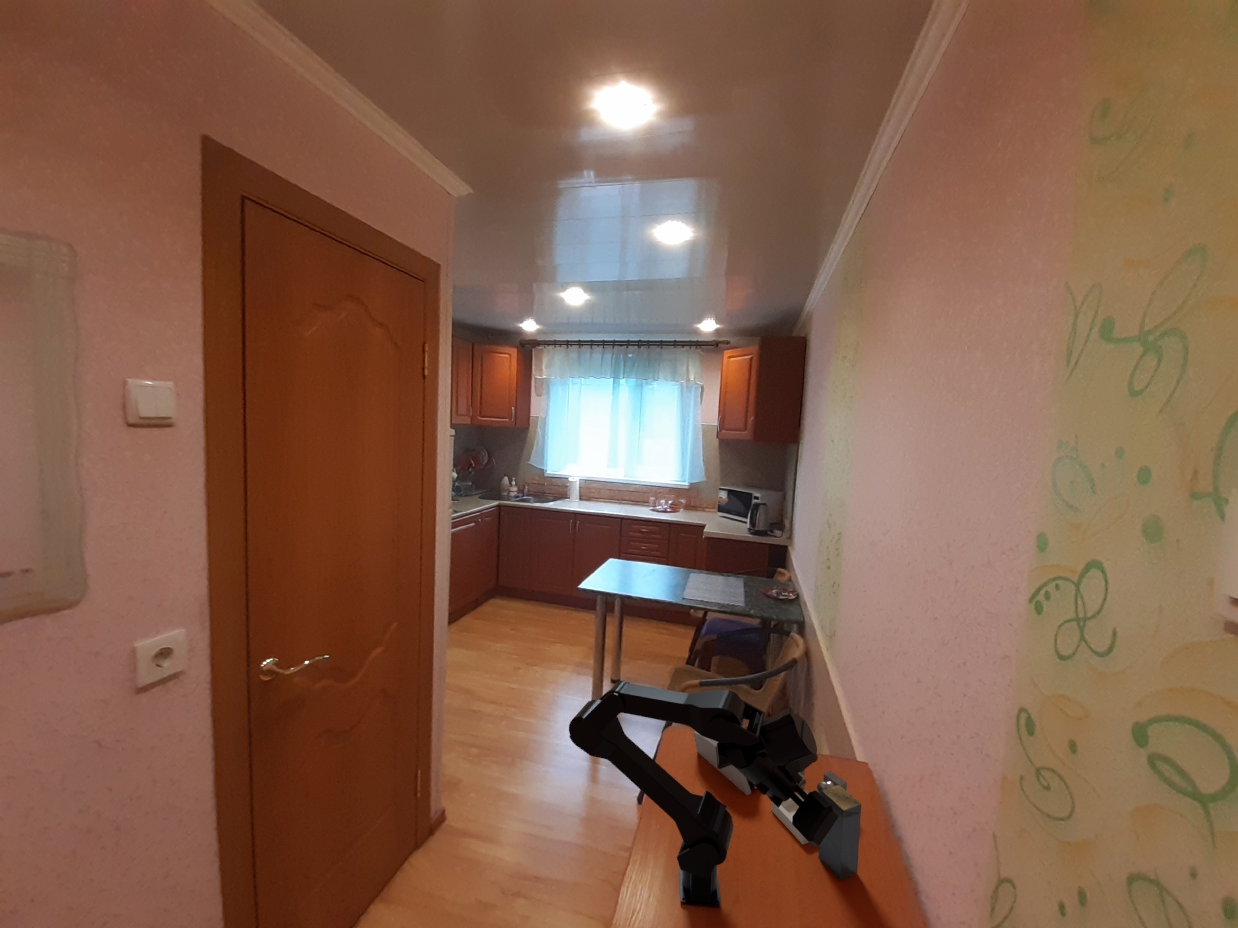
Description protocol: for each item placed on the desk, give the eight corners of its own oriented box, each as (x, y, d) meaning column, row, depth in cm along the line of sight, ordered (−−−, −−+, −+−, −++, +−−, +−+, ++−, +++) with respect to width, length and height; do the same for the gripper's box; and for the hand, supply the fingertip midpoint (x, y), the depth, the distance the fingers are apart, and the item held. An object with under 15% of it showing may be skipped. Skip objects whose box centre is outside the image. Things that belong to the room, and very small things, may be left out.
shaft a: (831, 816, 102) (832, 790, 101) (814, 803, 105) (815, 777, 105) (846, 807, 104) (848, 781, 104) (830, 794, 108) (831, 769, 107)
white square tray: (839, 830, 98) (839, 820, 98) (802, 844, 95) (803, 834, 95) (805, 798, 107) (806, 789, 106) (771, 810, 103) (771, 800, 103)
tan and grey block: (857, 873, 89) (861, 803, 88) (839, 880, 88) (843, 810, 86) (835, 850, 94) (838, 784, 93) (818, 857, 92) (821, 790, 91)
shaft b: (806, 800, 106) (808, 775, 106) (787, 798, 106) (788, 773, 106) (800, 783, 111) (801, 759, 111) (781, 782, 111) (782, 757, 111)
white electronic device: (764, 787, 110) (754, 751, 107) (749, 801, 108) (739, 765, 105) (712, 744, 124) (703, 711, 121) (698, 756, 122) (688, 723, 119)
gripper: (832, 758, 75) (882, 808, 80) (753, 694, 92) (798, 738, 97) (787, 823, 72) (841, 870, 77) (714, 745, 90) (763, 787, 95)
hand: (809, 809), depth 87 cm, fingers open, 9 cm apart
